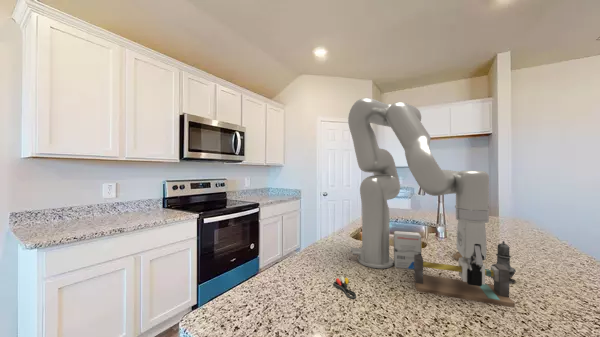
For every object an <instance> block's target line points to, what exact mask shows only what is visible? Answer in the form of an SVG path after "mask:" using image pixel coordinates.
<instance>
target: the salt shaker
mask: <svg viewBox="0 0 600 337" xmlns="http://www.w3.org/2000/svg"><path fill="white" fill-rule="evenodd" d="M495 255H496V263H492V264H491V265H490V267H491V266H494V264H501V265H504V266H505V267H506V268H507V269H508V270H509V284H514V283H515V282H516V281H515V279H513V278H512V277H514V275H515V273H516V272H517V270H516V269H515V268H514V267H512V266H511V262H510V261H511V258H512V256H511V255H510V245H509V244H506V243H505V240H502V242H501V243H498V244H497V253H496V254H495Z"/></svg>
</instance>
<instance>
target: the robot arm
mask: <svg viewBox="0 0 600 337" xmlns="http://www.w3.org/2000/svg"><path fill="white" fill-rule="evenodd" d="M349 110H350V111H349V113H348V118H347V120H348V121H347V123H348V127H349V129H348V130H349V131H350V132H349V133H350V135H351V139H352V144H353V148H354V154H355V156H356V161H357V165H358V168H359V169H360V170H361V171H362V172H363V173H373V175H369V176H367V177H366V178H364V179H363V180H362V181H361V183H360V186H359V195H360V201H361V211H362V214H361V215H362V216H361V218H362V219H361V220H362V221H361V222H362V223H361V224H362V226H361V228H362V230H361V231H362V232H361V233H362V236H361V238H362V240H361V242H362V244H361V247H358V248H357V247H350V248H349V250H350V253H351V254H352V255H356V256H357V261H358V263H360V265H363V266H366V267H368V268H371V269H389V268H392V267H393V266H394V258H393V257H390V234H391V233H390V230H391V229H390V224H391V222H390V208H389V204H388V201H390V200H393V199H394V198H396V197H398V195H399V194H400V191H401V183H400V179H399V175H398V171H397V166H396V162H395V159H394V157H393V156H392V154H391V153H390V151H388V150H387V149H384V148H380V147H379V145H378V141H377V137H376V134H375V131H374V130H373V128H372V125H371V124H374V125H378V126H382V127H387V128H388V127H389V128H391V131H393V133H394V134H395V136H396V138H397V140H398V141H399V143H400V145H401V147H402V148H403V151H404V156H405V159H406V163H407V166H408V169H409V171H410V174H412V176H413V178H414V180H415V181H416V183H417V185H418V187H420V189H421V190H422V191H423V192H424V193H425V194H427V195H429V196H431V197H432V196H435V197H436V196H437V197H439V196H444V195H445V196H446V195H452V194H453V195H455V205H456V208H455V220H457V227H456V229H457V230H456V250H457V252H458V251H459V253H460V254H461V255H462V258H465V259H468V265H469V269H467V283H468V284H469V285H475V286H482V266H483V264H484V262H483V261H486V259H487V248H488V247H487V229H486V224H488V223H489V222H490V209H489V208H490V176H489V174H488V172H487V171H483V170H461V171H457V170H451V169H450V170H449V169H441V167H440V166H439V164H438V162H437V161H436V159H435V157H434V156H433V154H432V151H431V147H430V143H431V136H430V133H429V132H428V130H427V129H426V128H425V126H424V124H423V123H422V122H421V121H422V114H421V111H420V110H419V108H417V107H416V106H415V105H411V104H409V103H407V102H403V101H398V102H394V103H392V104H390V103H386V102H383V101H379V100H377V99H374V98H371V97H362V98H359V99H358V100H356V101H355V102H354V103H353V105H352V106H351V108H350V109H349ZM472 261H475V263H474V262H473V263H472Z"/></svg>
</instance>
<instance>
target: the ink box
mask: <svg viewBox="0 0 600 337" xmlns="http://www.w3.org/2000/svg"><path fill="white" fill-rule="evenodd" d="M414 254H416V255H422V235H421V234H420V233H419V232H412V231H411V232H410V231H402V230H401V231H399V230H394V231H393V260H394V265H393V266H394V268H397V269H398V268H399V269H407V270H408V269H409V270H414Z"/></svg>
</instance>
